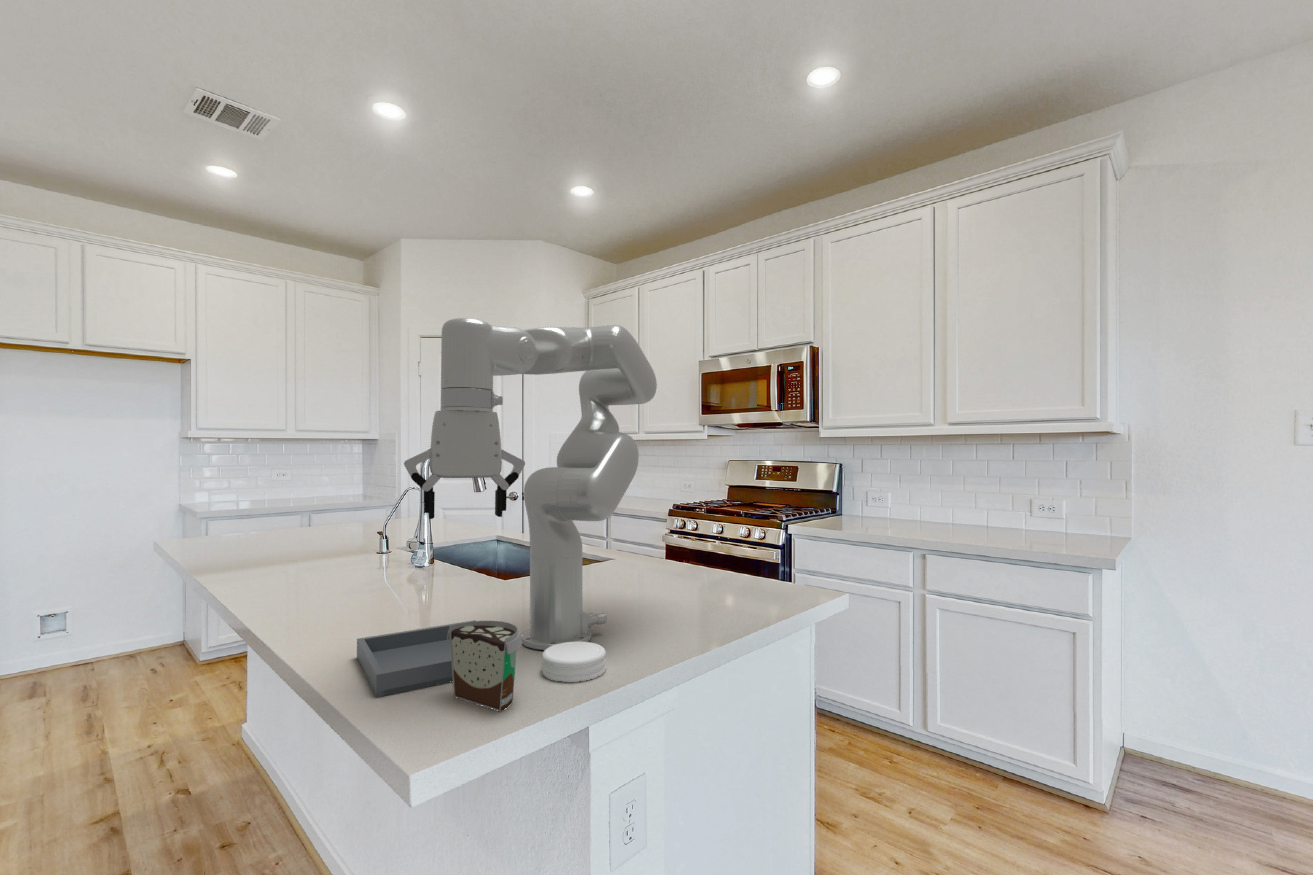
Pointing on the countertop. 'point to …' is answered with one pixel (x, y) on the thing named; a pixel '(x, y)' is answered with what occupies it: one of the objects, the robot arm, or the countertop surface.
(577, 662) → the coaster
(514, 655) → the food container
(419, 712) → the countertop surface
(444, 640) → the tray
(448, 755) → the countertop surface
